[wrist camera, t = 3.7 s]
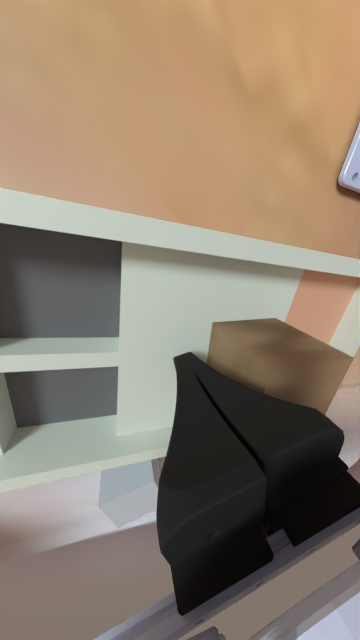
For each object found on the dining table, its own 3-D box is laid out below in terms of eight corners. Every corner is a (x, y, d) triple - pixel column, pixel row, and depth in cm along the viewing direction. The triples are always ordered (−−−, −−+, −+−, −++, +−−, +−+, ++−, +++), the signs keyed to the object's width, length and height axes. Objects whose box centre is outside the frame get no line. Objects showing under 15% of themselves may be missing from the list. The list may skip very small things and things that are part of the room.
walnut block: (275, 317, 13) (353, 357, 9) (259, 374, 15) (316, 429, 11) (212, 322, 12) (269, 372, 7) (203, 384, 14) (244, 453, 9)
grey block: (147, 431, 17) (154, 481, 14) (157, 454, 19) (166, 504, 15) (103, 449, 16) (98, 506, 13) (118, 471, 18) (118, 527, 15)
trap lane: (349, 262, 16) (404, 268, 13) (286, 397, 21) (314, 424, 18) (-70, 184, 8) (-200, 147, 4) (3, 437, 13) (-32, 499, 10)
